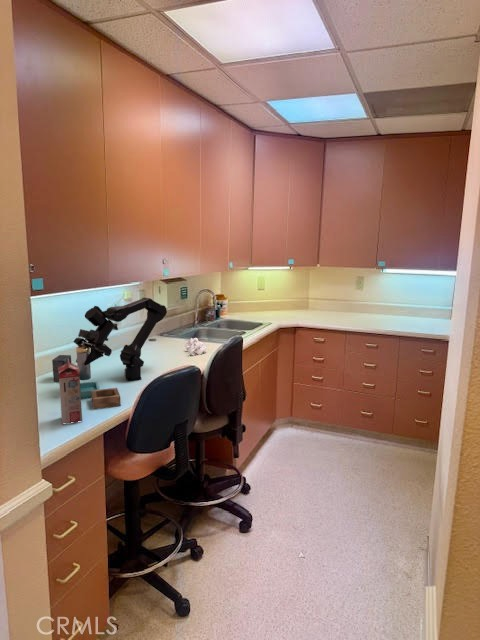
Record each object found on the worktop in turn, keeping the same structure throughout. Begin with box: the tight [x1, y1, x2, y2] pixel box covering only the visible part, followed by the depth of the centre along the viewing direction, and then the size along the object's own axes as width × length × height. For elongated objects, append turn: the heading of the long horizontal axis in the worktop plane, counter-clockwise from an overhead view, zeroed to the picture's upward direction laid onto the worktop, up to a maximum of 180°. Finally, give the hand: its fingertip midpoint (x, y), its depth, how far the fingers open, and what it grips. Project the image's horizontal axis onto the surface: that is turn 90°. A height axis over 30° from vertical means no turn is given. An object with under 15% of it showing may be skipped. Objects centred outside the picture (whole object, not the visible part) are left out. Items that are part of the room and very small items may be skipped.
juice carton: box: [58, 358, 83, 425], centre depth 152 cm, size 7×7×22 cm
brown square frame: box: [90, 387, 122, 410], centre depth 170 cm, size 10×10×4 cm
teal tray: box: [80, 381, 101, 400], centre depth 179 cm, size 11×11×3 cm
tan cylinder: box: [75, 346, 92, 381], centre depth 177 cm, size 5×5×13 cm
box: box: [51, 354, 72, 383], centre depth 195 cm, size 8×6×11 cm
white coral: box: [182, 337, 208, 357], centre depth 243 cm, size 12×9×10 cm
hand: (80, 363), depth 176 cm, fingers closed on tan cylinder, 5 cm apart
